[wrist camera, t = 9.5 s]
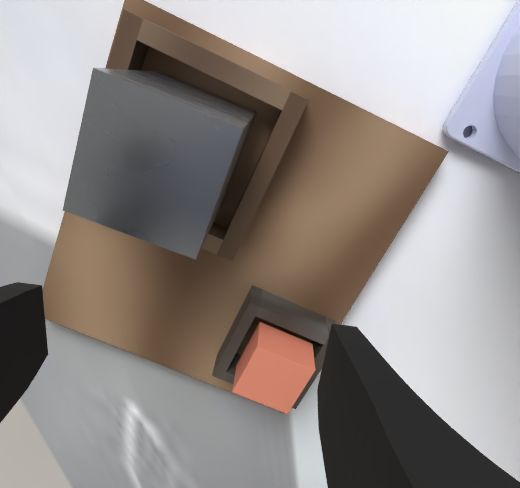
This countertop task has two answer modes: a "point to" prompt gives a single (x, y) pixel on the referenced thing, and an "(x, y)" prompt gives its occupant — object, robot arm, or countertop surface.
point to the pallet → (244, 217)
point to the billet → (155, 157)
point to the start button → (274, 368)
